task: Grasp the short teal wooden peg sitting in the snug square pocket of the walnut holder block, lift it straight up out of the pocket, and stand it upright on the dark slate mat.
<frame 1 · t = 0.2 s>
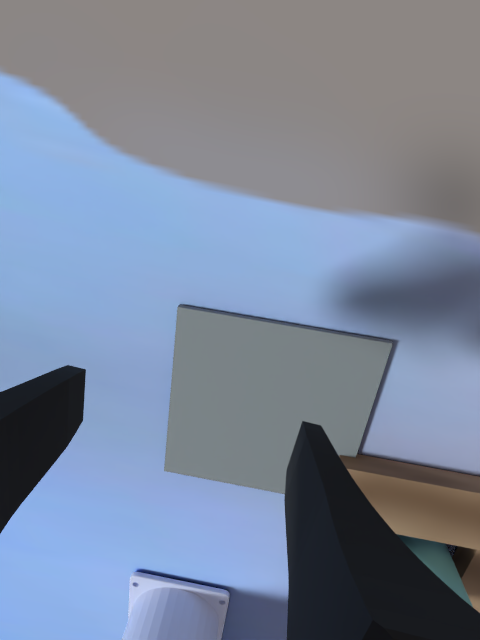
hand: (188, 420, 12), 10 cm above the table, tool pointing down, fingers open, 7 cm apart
slate mat: (266, 410, 24), on the table
peg: (431, 595, 24), in the holder block
holder block: (415, 548, 27), on the table
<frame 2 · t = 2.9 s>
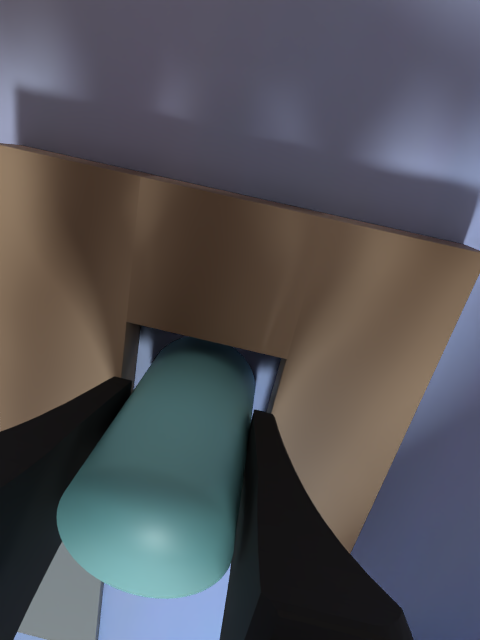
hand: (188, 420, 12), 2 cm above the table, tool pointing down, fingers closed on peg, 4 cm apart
peg: (180, 440, 11), in the holder block, touching gripper
holder block: (202, 384, 14), on the table
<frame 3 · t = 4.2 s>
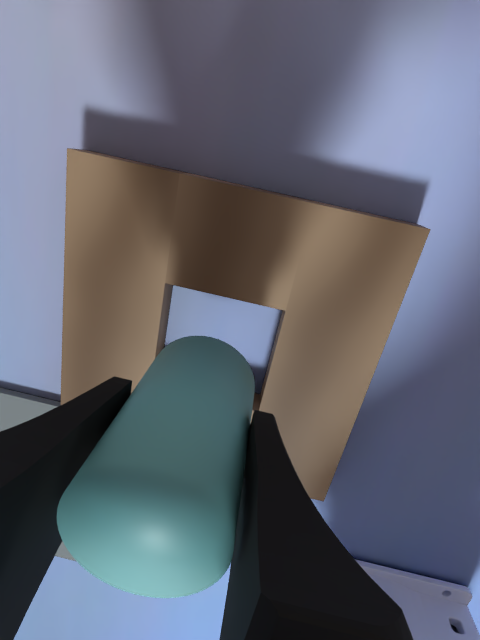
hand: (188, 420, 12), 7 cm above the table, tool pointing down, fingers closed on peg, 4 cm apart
slate mat: (39, 478, 23), on the table
peg: (180, 440, 11), point 8 cm above the table, touching gripper
holder block: (219, 337, 18), on the table
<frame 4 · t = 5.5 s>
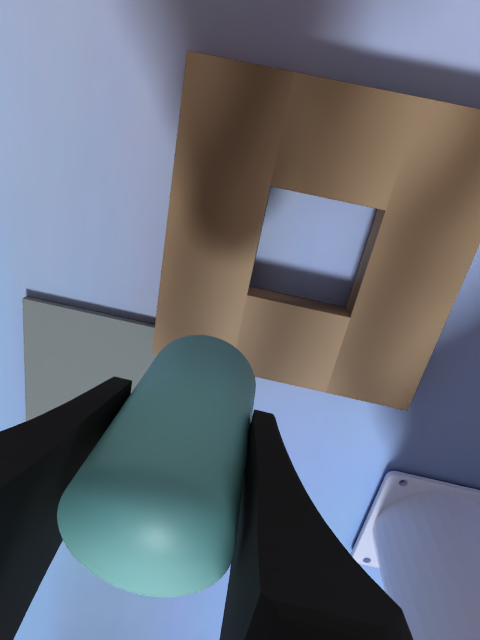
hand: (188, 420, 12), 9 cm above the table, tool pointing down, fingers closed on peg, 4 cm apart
slate mat: (120, 405, 24), on the table
peg: (181, 439, 11), point 10 cm above the table, touching gripper
holder block: (310, 249, 19), on the table
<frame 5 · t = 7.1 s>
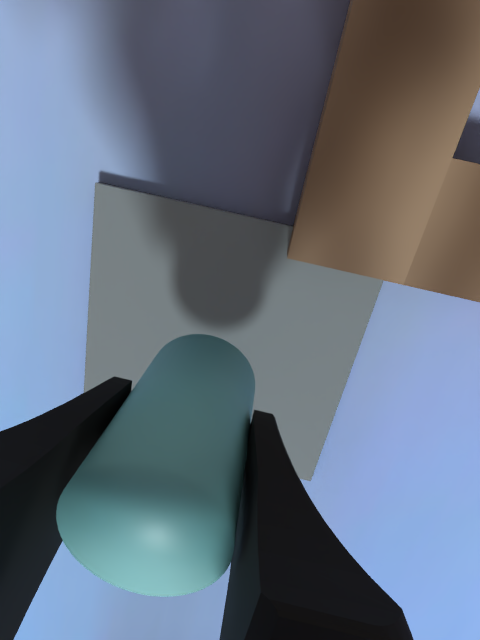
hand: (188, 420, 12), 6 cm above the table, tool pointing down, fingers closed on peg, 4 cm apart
slate mat: (217, 346, 18), on the table
peg: (180, 438, 11), point 7 cm above the table, touching gripper
when the fingers open (3 cm above the table, at t = 8.4 s): peg stays where it is, resting on slate mat.
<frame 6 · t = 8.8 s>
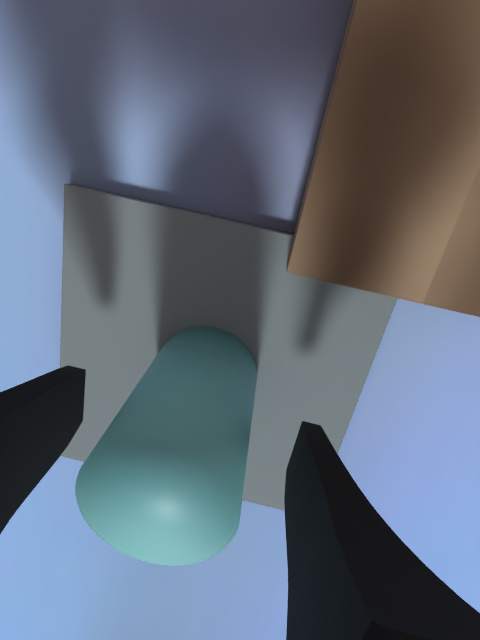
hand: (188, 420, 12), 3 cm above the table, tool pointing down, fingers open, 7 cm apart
slate mat: (208, 369, 16), on the table
peg: (187, 422, 12), on the slate mat
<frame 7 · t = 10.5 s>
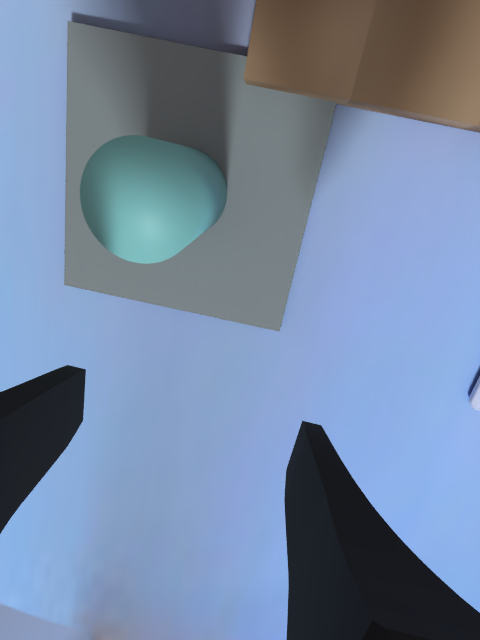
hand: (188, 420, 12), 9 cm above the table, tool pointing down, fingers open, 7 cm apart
slate mat: (187, 193, 19), on the table
peg: (167, 196, 15), on the slate mat
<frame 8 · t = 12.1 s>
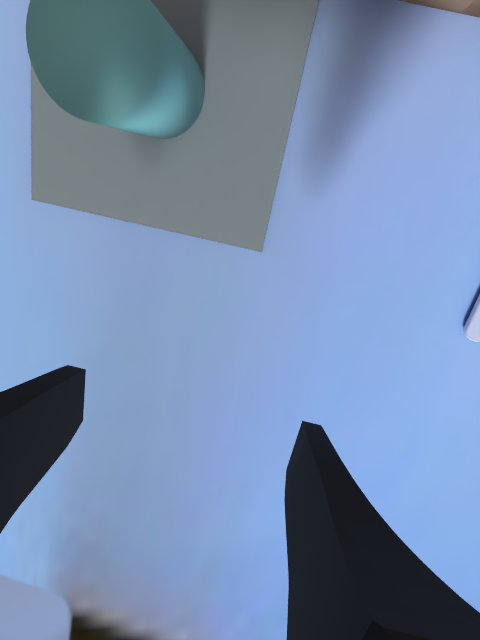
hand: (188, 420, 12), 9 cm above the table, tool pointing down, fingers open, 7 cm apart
slate mat: (162, 93, 17), on the table
peg: (133, 72, 14), on the slate mat
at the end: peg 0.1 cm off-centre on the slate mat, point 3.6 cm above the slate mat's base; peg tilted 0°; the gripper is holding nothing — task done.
